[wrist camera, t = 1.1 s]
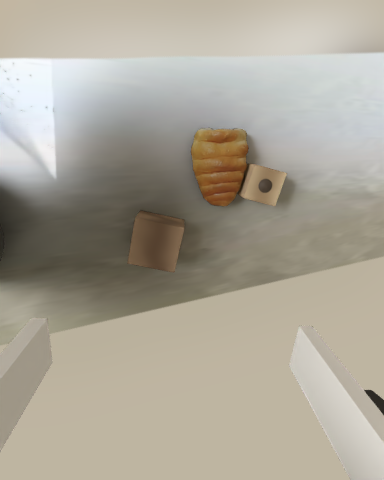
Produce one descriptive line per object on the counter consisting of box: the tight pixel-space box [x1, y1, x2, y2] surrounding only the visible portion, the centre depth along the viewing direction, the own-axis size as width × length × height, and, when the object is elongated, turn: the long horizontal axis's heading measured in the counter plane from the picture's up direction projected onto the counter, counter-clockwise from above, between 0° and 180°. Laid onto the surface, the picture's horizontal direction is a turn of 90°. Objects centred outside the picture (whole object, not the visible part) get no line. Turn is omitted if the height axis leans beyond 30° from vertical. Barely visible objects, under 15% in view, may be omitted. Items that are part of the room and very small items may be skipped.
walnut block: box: [128, 211, 185, 272], centre depth 34 cm, size 6×6×4 cm
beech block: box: [237, 164, 287, 206], centre depth 32 cm, size 4×4×4 cm
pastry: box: [191, 128, 249, 206], centre depth 31 cm, size 9×7×4 cm
